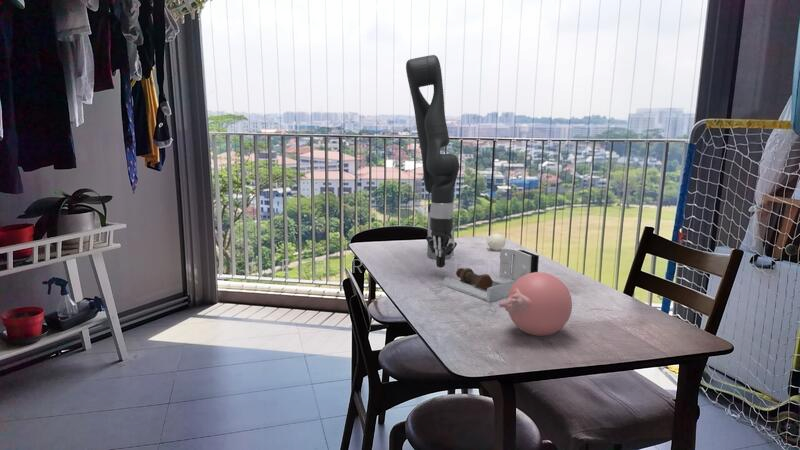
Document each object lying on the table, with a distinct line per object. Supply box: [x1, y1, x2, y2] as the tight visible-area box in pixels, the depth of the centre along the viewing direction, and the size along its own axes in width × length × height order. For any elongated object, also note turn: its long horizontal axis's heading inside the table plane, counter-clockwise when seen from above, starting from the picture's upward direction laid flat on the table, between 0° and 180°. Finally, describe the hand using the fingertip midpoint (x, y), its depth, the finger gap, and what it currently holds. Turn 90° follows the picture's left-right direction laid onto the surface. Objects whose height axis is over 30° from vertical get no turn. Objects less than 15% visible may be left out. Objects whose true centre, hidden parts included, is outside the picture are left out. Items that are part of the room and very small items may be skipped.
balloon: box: [498, 271, 573, 337], centre depth 129 cm, size 15×20×15 cm
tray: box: [443, 273, 516, 303], centre depth 163 cm, size 11×19×4 cm, turn 38°
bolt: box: [455, 267, 493, 291], centre depth 165 cm, size 6×5×15 cm
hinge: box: [498, 247, 540, 282], centre depth 172 cm, size 14×5×10 cm, turn 37°
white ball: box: [486, 232, 506, 251], centre depth 212 cm, size 7×7×7 cm
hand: (440, 266), depth 176 cm, fingers closed
